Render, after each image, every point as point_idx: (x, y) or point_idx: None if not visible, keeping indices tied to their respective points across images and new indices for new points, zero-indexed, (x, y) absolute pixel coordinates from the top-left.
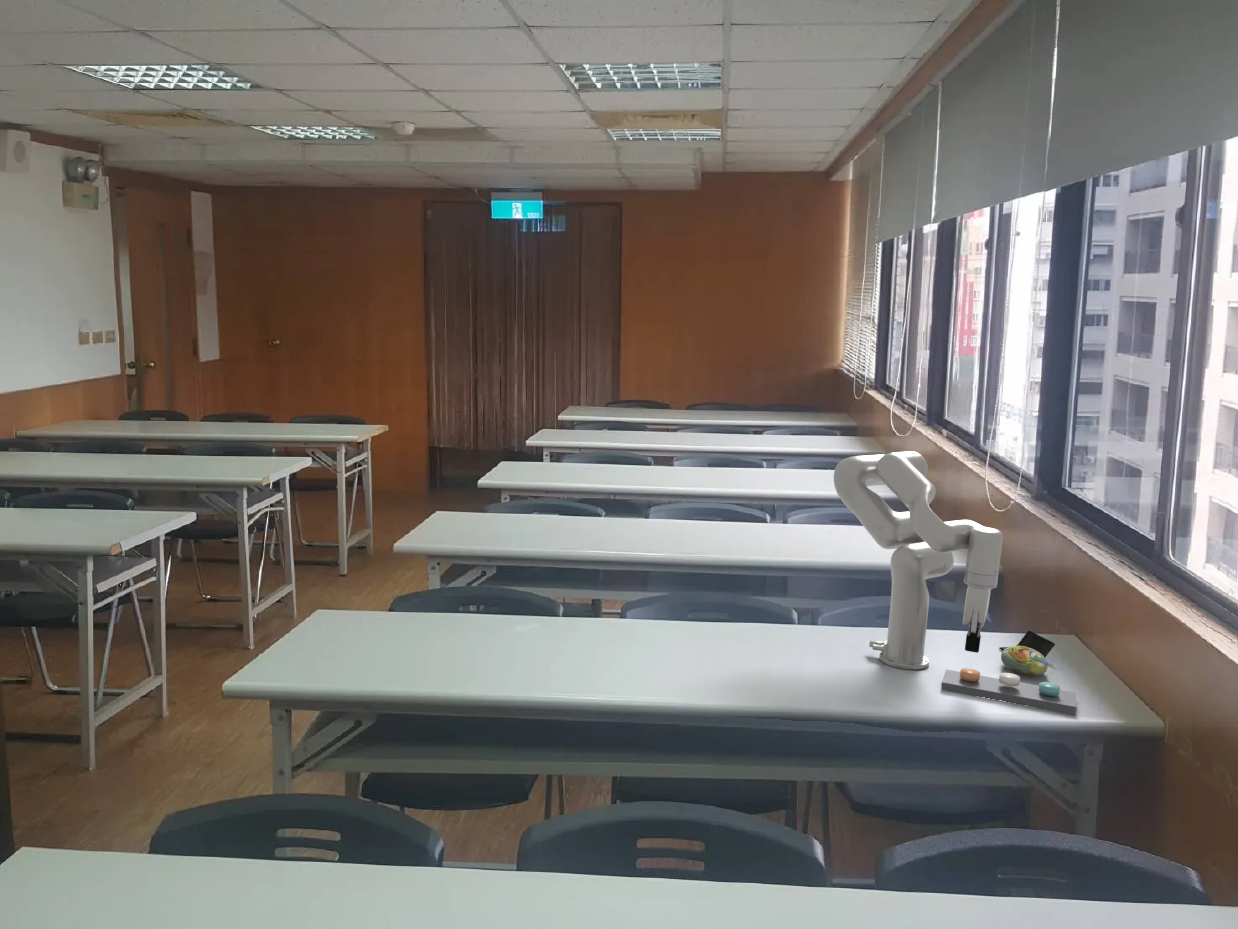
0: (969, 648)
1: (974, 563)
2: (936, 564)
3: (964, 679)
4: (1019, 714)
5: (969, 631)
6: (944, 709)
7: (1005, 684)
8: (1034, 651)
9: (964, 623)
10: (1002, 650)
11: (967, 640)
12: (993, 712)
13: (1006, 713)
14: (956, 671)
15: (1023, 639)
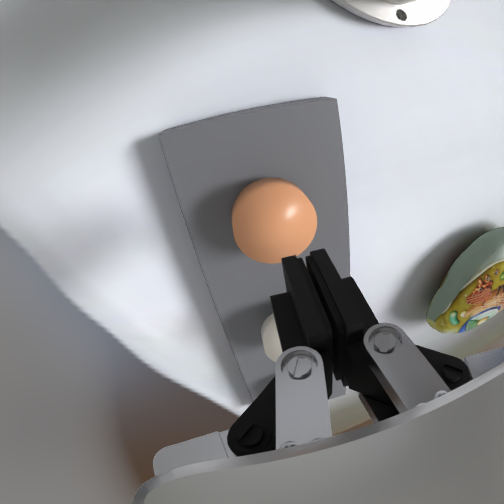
0: (270, 297)
1: None
2: None
3: (233, 207)
4: (167, 350)
5: (276, 402)
6: (27, 213)
7: (262, 329)
8: (502, 306)
9: (135, 501)
10: None
11: (298, 311)
12: (122, 310)
13: (145, 331)
14: (338, 141)
15: None
